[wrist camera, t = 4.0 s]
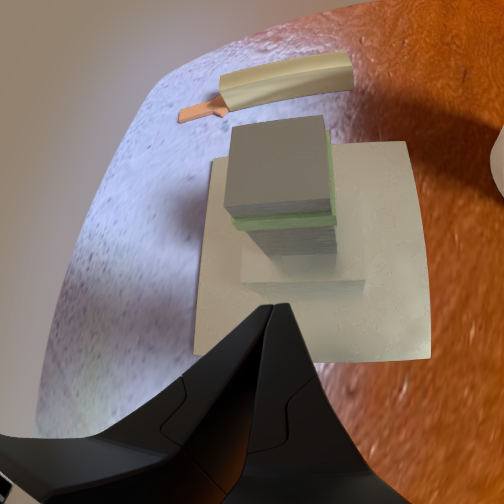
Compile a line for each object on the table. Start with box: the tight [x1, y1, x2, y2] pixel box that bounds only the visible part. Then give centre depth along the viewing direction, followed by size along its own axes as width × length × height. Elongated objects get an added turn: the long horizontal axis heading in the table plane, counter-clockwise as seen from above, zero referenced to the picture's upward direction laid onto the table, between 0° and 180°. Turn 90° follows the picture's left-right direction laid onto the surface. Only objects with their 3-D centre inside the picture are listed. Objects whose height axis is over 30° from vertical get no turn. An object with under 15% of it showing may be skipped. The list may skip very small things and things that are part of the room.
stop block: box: [219, 51, 354, 112], centre depth 25 cm, size 2×12×3 cm, turn 92°
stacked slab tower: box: [193, 115, 431, 363], centre depth 17 cm, size 16×16×11 cm
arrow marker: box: [178, 94, 230, 123], centre depth 28 cm, size 6×3×1 cm, turn 92°
